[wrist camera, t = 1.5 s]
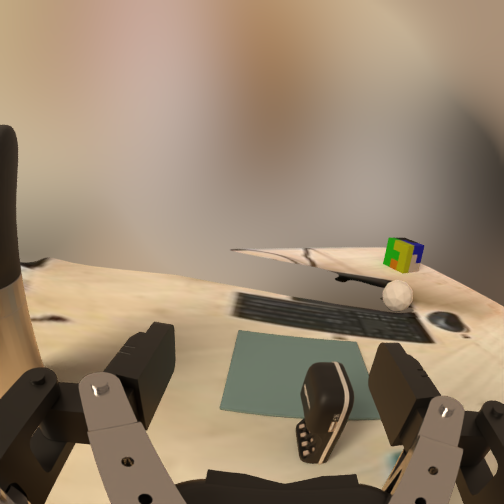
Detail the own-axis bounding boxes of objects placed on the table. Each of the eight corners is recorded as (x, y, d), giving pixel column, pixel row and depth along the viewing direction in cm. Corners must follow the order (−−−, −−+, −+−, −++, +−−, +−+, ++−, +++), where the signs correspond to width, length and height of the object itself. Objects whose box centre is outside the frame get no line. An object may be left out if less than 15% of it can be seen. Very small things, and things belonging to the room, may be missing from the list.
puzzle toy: (418, 271, 100) (424, 245, 97) (402, 273, 96) (409, 245, 93) (399, 262, 109) (404, 237, 106) (383, 263, 105) (388, 237, 102)
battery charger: (288, 424, 33) (307, 354, 30) (317, 424, 34) (341, 354, 30) (293, 467, 27) (318, 399, 23) (326, 466, 27) (359, 398, 24)
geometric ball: (388, 315, 71) (397, 286, 73) (413, 318, 64) (421, 287, 66) (372, 304, 68) (381, 274, 70) (398, 306, 61) (407, 273, 63)
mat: (219, 409, 35) (219, 407, 35) (238, 331, 54) (238, 330, 54) (382, 419, 34) (383, 417, 34) (355, 343, 53) (356, 341, 53)
